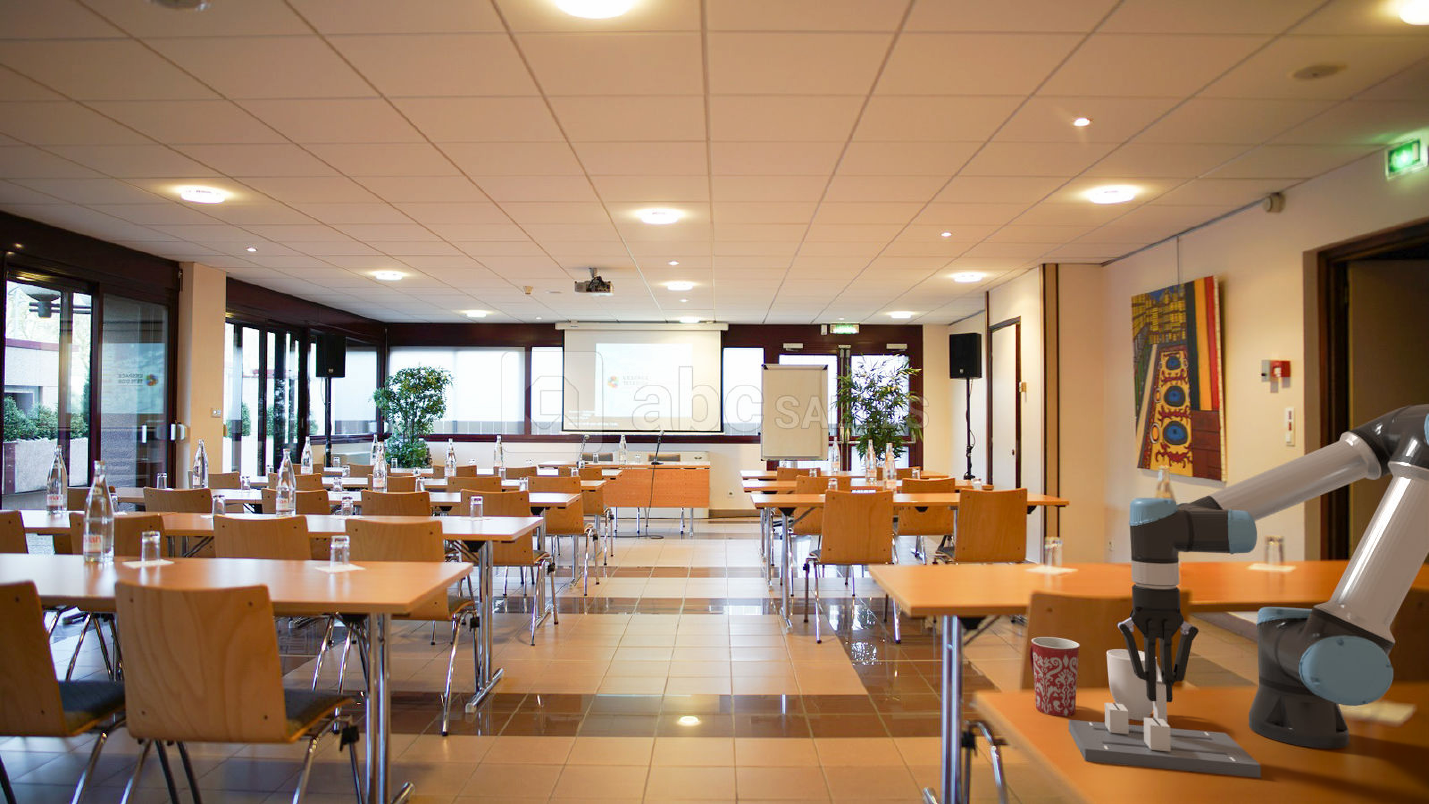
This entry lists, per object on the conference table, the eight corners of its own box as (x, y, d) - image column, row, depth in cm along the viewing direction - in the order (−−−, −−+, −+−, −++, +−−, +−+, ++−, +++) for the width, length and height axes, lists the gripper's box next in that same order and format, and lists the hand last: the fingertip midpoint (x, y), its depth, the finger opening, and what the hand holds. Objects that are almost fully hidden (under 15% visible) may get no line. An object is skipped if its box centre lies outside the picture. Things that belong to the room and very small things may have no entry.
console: (1225, 744, 144) (1225, 732, 145) (1260, 777, 130) (1260, 764, 130) (1068, 730, 151) (1068, 719, 151) (1085, 761, 136) (1085, 748, 136)
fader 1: (1123, 726, 147) (1122, 703, 147) (1128, 734, 143) (1128, 710, 143) (1105, 725, 147) (1104, 702, 148) (1110, 732, 144) (1109, 709, 144)
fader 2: (1163, 742, 139) (1162, 718, 139) (1170, 751, 135) (1170, 726, 135) (1144, 741, 140) (1143, 716, 140) (1150, 749, 136) (1150, 724, 136)
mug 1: (1090, 717, 158) (1089, 647, 159) (1046, 718, 157) (1046, 648, 158) (1054, 697, 171) (1054, 632, 172) (1014, 698, 170) (1013, 633, 170)
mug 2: (1138, 726, 154) (1135, 661, 154) (1099, 713, 162) (1096, 651, 162) (1180, 717, 158) (1177, 655, 159) (1139, 705, 166) (1137, 646, 167)
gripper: (1189, 582, 147) (1194, 715, 146) (1110, 580, 150) (1115, 710, 149) (1203, 590, 140) (1208, 729, 138) (1120, 587, 143) (1125, 724, 141)
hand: (1160, 719), depth 144 cm, fingers closed
